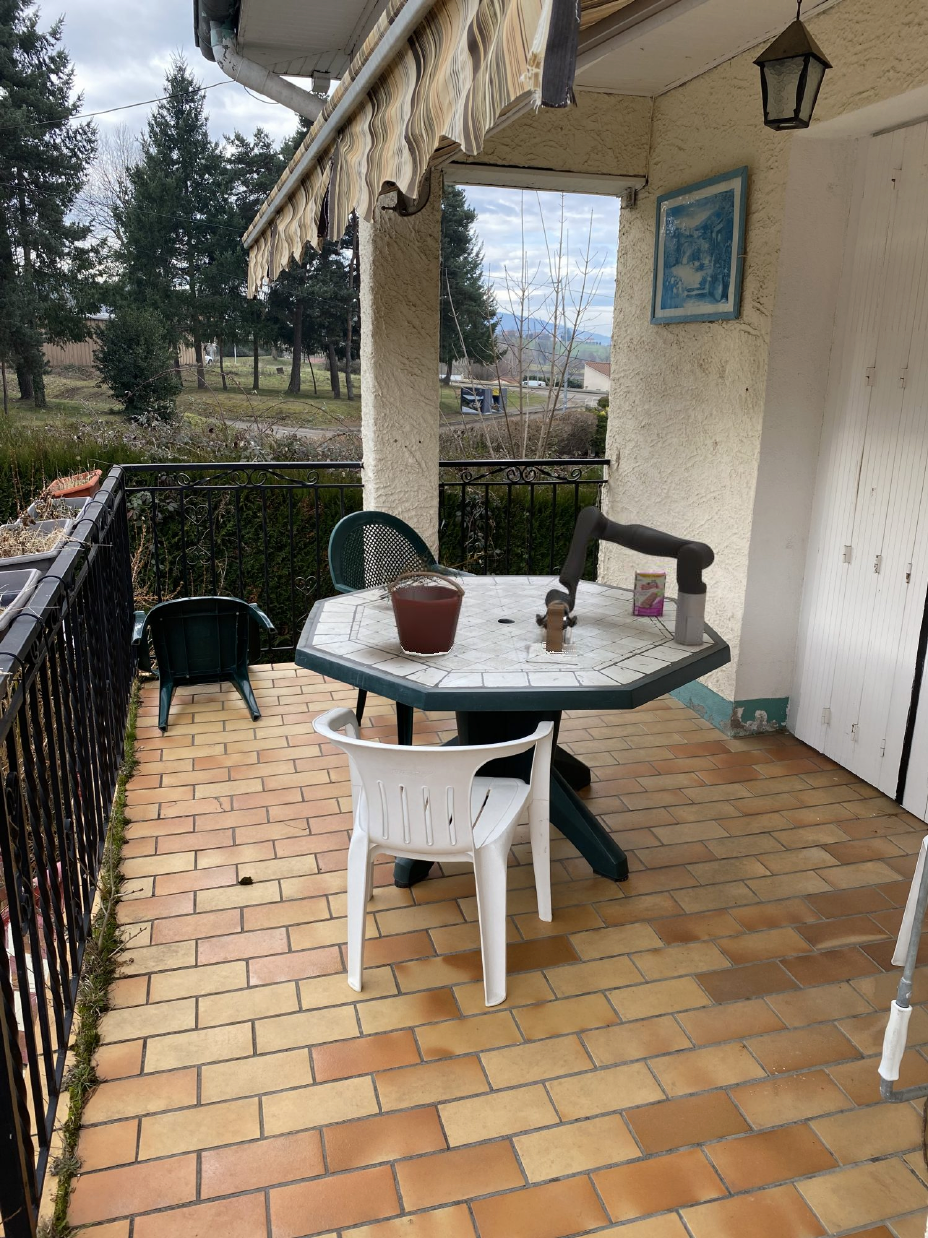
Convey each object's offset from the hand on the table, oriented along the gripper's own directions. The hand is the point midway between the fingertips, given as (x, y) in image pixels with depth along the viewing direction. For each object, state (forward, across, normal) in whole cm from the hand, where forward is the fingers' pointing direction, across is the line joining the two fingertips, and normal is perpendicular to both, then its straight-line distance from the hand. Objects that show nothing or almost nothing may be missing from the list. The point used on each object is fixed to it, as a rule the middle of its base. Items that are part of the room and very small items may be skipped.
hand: (554, 627), depth 282 cm
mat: (-1, 0, +9) cm, 9 cm away
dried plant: (-48, -49, +10) cm, 69 cm away
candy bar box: (-56, +32, +10) cm, 65 cm away
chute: (-24, 0, +9) cm, 25 cm away
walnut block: (-3, 0, +8) cm, 8 cm away
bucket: (+2, -41, +9) cm, 42 cm away
